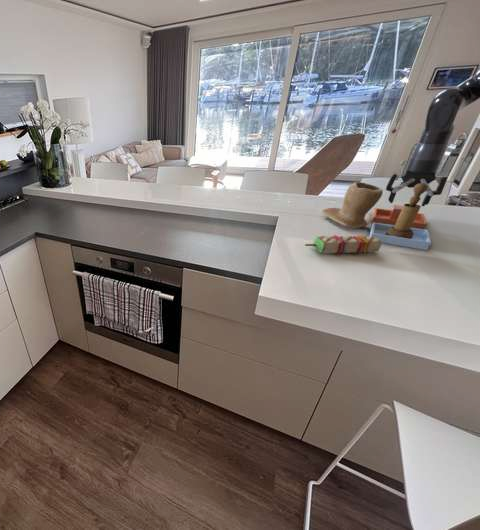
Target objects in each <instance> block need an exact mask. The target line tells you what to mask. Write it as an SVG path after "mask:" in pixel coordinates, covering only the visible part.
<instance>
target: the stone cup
mask: <svg viewBox="0 0 480 530" xmlns="http://www.w3.org/2000/svg"><path fill="white" fill-rule="evenodd" d="M383 191H384V190H383V189H382V188H381V187H379V186H376V185H374V184H371V183H367V182H361V181H355V182H353V183H351V184H350V185H349V186H348V187H347V189H346V192H345V195H344V198H343V203H342V207H341V208H338V207H329V208H328V207H327V208H325V209H323V210H321V213H322V214H323V215H324V216H326V217H327V218H329V219H331V220H333V221H334V222H336V223H338V224H340V225H341V226H344V227H347V228H356V229H357V228H365V227H367V226H368V225H369V223H368V222H367V220H366V219H365V218H366V215H367V214H368V213H369V211H371V209H372V208H373V207H375V205H376V204H377V203H379V201H380V199H381V198H382V196H383V193H384V192H383Z"/></svg>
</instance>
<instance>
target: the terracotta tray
mask: <svg viewBox="0 0 480 530" xmlns="http://www.w3.org/2000/svg"><path fill="white" fill-rule="evenodd" d="M391 210H392V209H386V208H378V207H377V208H376V207H374V210H373V212H372V216H371V225H372V224H373V222H374V223H381V224H389V225H395V224H396V222H397V220H396V219H388V217H389V215H390V212H391ZM426 227H427V220H426V216H425V213H419V212H418V213H417V216H416V218H415V220H414V222H413V224H412V226H411V228H417V229H424V230H425V228H426Z"/></svg>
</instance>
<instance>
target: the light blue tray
mask: <svg viewBox="0 0 480 530" xmlns="http://www.w3.org/2000/svg"><path fill="white" fill-rule="evenodd" d="M393 226H395V225H389V224H381V223H374V222H373V224H371V227H370V230H369V236H374V237H376V238H377V239H379V240H380V241H382V244H388V245H392V246H393V245H394V246H399V247H406V248H412V249H417V250H423V251H428V250H429V247H430V246H431V244H432V241H431V237H430V233H429V230H428V229H425V228H424V229H417V228H410V229H411V230H412V231H413V232H414V235H413V237H412V239H407V238H401V237H395V236H388V235H385V234H386V232H387V230H388V228H390V227H393Z"/></svg>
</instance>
